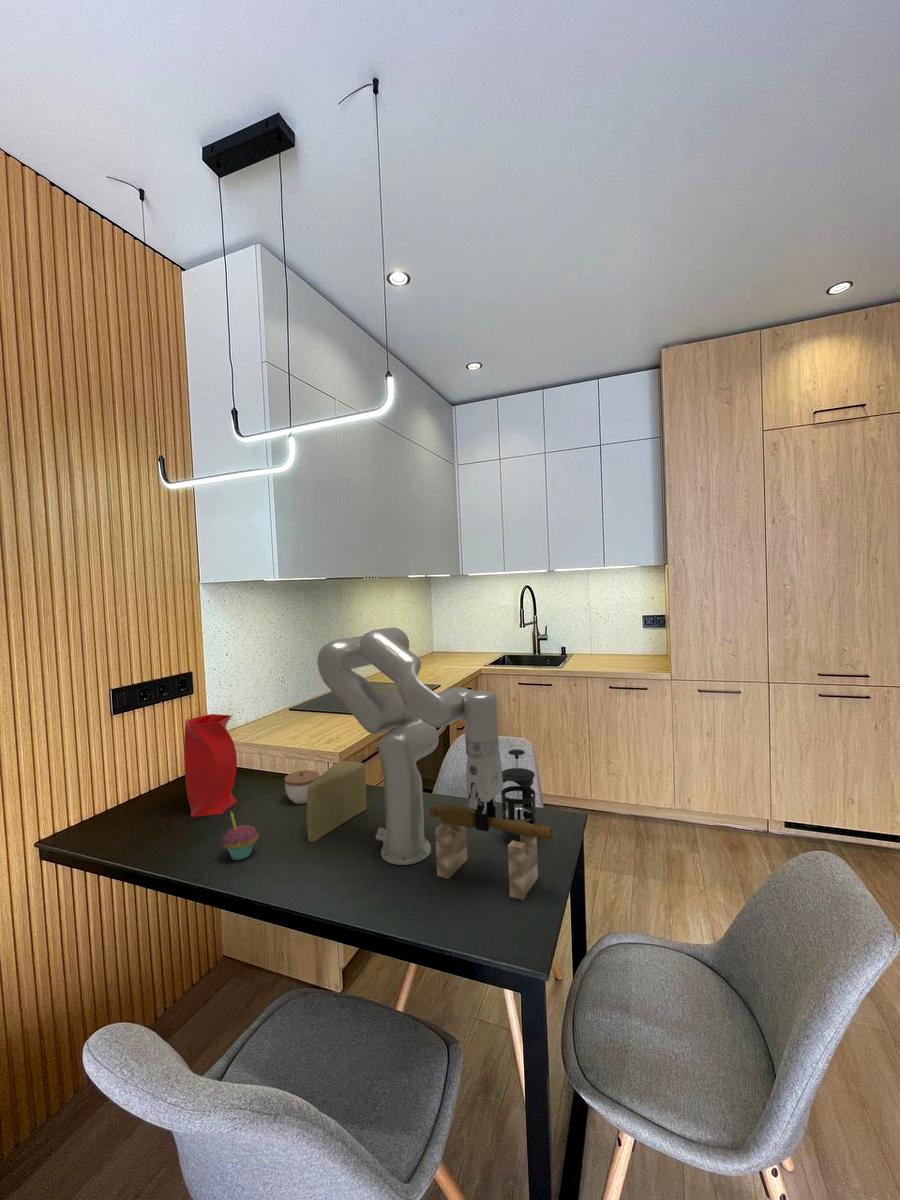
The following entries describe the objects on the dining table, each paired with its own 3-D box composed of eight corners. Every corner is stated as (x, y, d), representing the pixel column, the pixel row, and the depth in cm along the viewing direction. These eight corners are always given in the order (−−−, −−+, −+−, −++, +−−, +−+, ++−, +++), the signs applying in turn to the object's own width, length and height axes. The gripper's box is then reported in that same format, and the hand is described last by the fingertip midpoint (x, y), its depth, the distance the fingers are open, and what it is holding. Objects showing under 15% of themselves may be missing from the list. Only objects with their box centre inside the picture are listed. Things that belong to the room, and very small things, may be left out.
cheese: (325, 845, 133) (322, 789, 133) (294, 840, 136) (292, 785, 136) (368, 810, 154) (366, 761, 153) (340, 806, 157) (338, 758, 157)
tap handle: (548, 830, 107) (426, 806, 121) (548, 844, 107) (427, 819, 121) (552, 824, 109) (433, 801, 124) (553, 838, 109) (433, 813, 124)
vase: (244, 804, 162) (240, 716, 161) (201, 822, 149) (197, 728, 149) (216, 795, 170) (212, 712, 169) (173, 812, 158) (169, 722, 157)
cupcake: (224, 867, 124) (221, 819, 124) (222, 852, 132) (219, 806, 131) (261, 857, 128) (259, 810, 128) (257, 843, 136) (255, 798, 135)
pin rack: (437, 875, 117) (435, 828, 116) (456, 856, 125) (454, 812, 125) (523, 900, 106) (521, 848, 106) (538, 877, 115) (536, 829, 114)
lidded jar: (314, 806, 158) (313, 776, 158) (280, 807, 158) (279, 777, 158) (323, 792, 168) (322, 764, 168) (291, 793, 169) (290, 765, 168)
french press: (527, 851, 126) (524, 759, 125) (494, 842, 131) (490, 754, 131) (545, 831, 136) (542, 746, 135) (514, 823, 141) (511, 741, 140)
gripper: (481, 759, 106) (485, 846, 106) (511, 738, 120) (514, 814, 121) (450, 755, 110) (454, 839, 110) (482, 734, 124) (486, 809, 124)
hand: (485, 825), depth 115 cm, fingers closed on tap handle, 3 cm apart
